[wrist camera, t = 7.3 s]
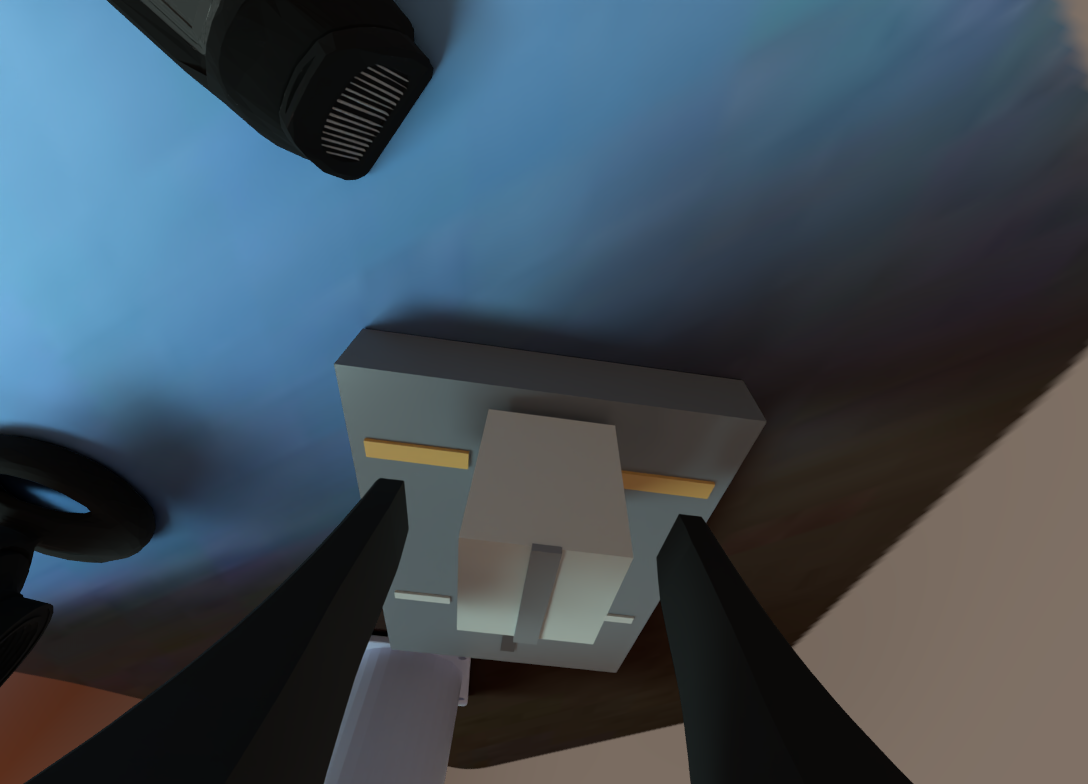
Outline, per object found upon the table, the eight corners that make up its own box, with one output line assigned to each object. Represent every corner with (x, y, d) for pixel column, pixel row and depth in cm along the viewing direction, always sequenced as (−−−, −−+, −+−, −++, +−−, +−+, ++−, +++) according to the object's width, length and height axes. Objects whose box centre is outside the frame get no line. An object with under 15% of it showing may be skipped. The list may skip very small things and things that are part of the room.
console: (612, 633, 24) (616, 675, 22) (402, 610, 24) (390, 651, 22) (742, 380, 13) (768, 424, 12) (362, 328, 13) (332, 366, 11)
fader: (586, 515, 14) (592, 650, 11) (482, 503, 14) (455, 636, 11) (615, 424, 12) (635, 562, 8) (488, 407, 11) (457, 541, 8)
